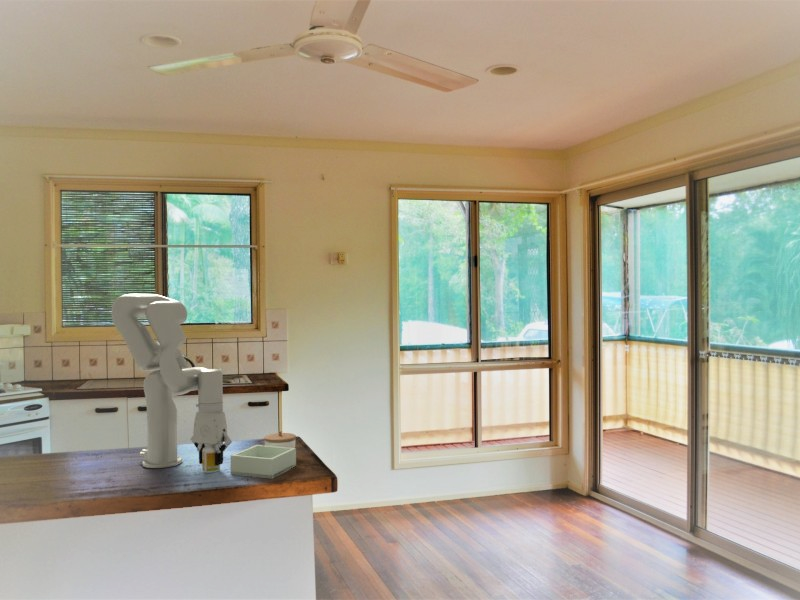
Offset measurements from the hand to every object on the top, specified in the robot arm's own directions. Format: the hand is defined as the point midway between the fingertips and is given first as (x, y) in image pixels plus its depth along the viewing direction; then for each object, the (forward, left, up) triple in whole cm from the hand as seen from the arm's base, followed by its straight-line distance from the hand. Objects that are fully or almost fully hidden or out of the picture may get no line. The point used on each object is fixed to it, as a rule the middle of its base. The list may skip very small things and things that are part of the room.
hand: (211, 463), depth 202 cm
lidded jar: (+13, +21, -3) cm, 25 cm away
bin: (+16, +6, -2) cm, 17 cm away
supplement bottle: (0, 0, -3) cm, 3 cm away
